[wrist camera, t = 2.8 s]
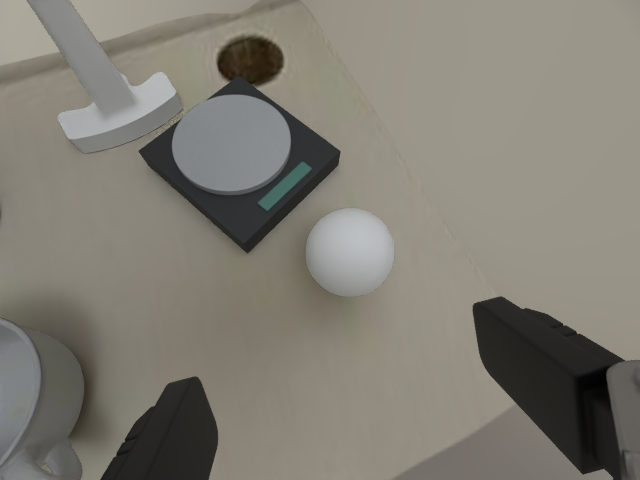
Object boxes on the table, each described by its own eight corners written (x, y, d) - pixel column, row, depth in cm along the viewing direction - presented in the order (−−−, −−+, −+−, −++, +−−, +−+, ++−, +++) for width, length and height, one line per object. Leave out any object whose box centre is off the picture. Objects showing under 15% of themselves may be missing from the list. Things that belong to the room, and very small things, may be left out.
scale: (247, 253, 32) (242, 240, 29) (148, 165, 35) (134, 145, 32) (338, 165, 36) (341, 145, 33) (242, 92, 39) (237, 69, 36)
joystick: (86, 161, 35) (-159, -85, 16) (59, 110, 37) (-183, -158, 19) (188, 115, 38) (77, -142, 19) (158, 69, 40) (32, -201, 21)
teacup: (-74, 406, 27) (-219, 417, 19) (56, 302, 30) (-26, 277, 22) (28, 562, 23) (-98, 646, 16) (160, 427, 27) (106, 445, 19)
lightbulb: (380, 308, 31) (418, 272, 21) (312, 323, 30) (317, 294, 20) (362, 244, 33) (389, 184, 23) (298, 257, 32) (296, 200, 22)
